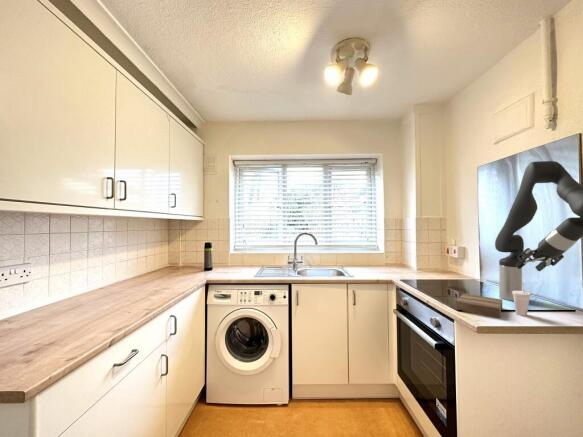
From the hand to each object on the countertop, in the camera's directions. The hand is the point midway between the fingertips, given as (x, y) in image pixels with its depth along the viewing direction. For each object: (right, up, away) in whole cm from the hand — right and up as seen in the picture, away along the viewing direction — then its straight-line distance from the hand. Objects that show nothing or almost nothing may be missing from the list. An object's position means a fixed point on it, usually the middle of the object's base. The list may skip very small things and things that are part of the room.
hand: (527, 268), depth 115 cm
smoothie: (+4, -22, +8) cm, 24 cm away
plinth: (-9, -22, +15) cm, 28 cm away
